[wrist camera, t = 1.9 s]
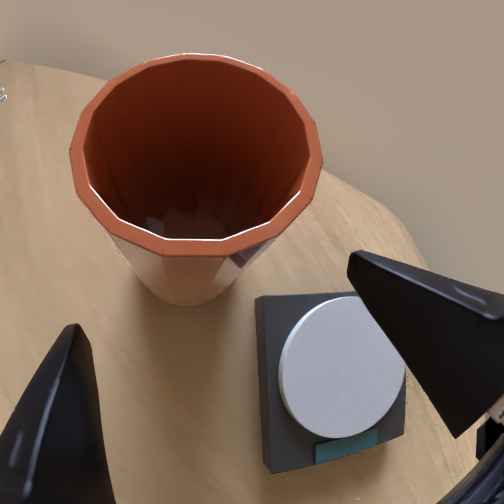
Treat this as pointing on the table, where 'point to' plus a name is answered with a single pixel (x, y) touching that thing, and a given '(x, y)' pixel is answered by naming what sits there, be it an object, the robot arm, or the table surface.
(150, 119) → the tumbler
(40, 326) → the table surface
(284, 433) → the scale
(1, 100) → the charger
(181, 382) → the table surface
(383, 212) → the table surface
